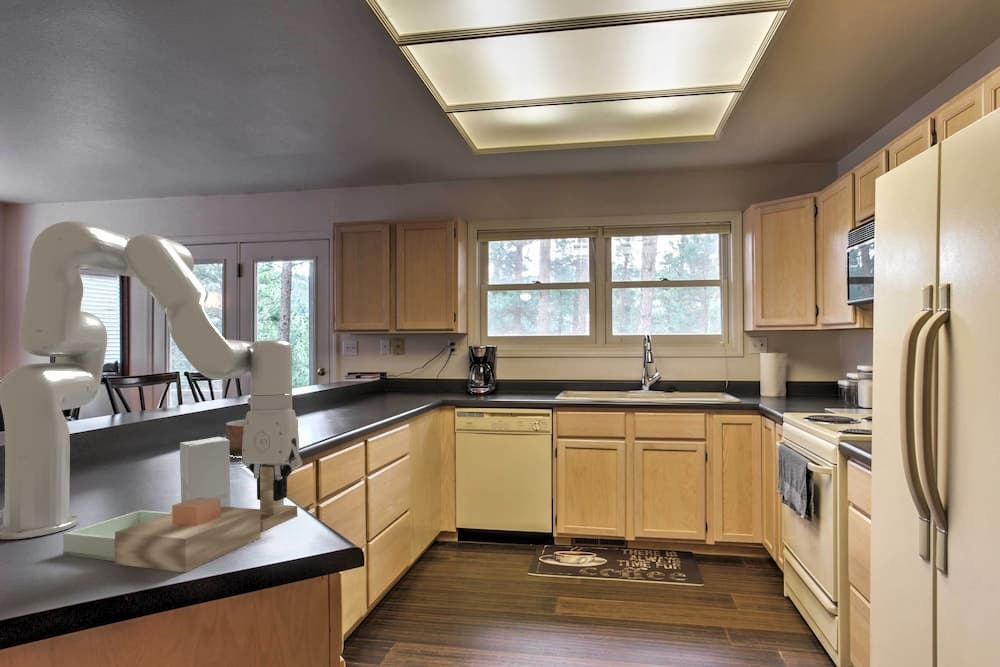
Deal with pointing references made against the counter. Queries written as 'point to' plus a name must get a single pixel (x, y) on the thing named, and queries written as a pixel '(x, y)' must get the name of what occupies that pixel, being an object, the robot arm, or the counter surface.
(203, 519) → the salmon pink brick
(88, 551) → the box
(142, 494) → the counter surface
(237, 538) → the birch block
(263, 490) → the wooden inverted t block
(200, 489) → the skincare box
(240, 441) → the cooking pot
